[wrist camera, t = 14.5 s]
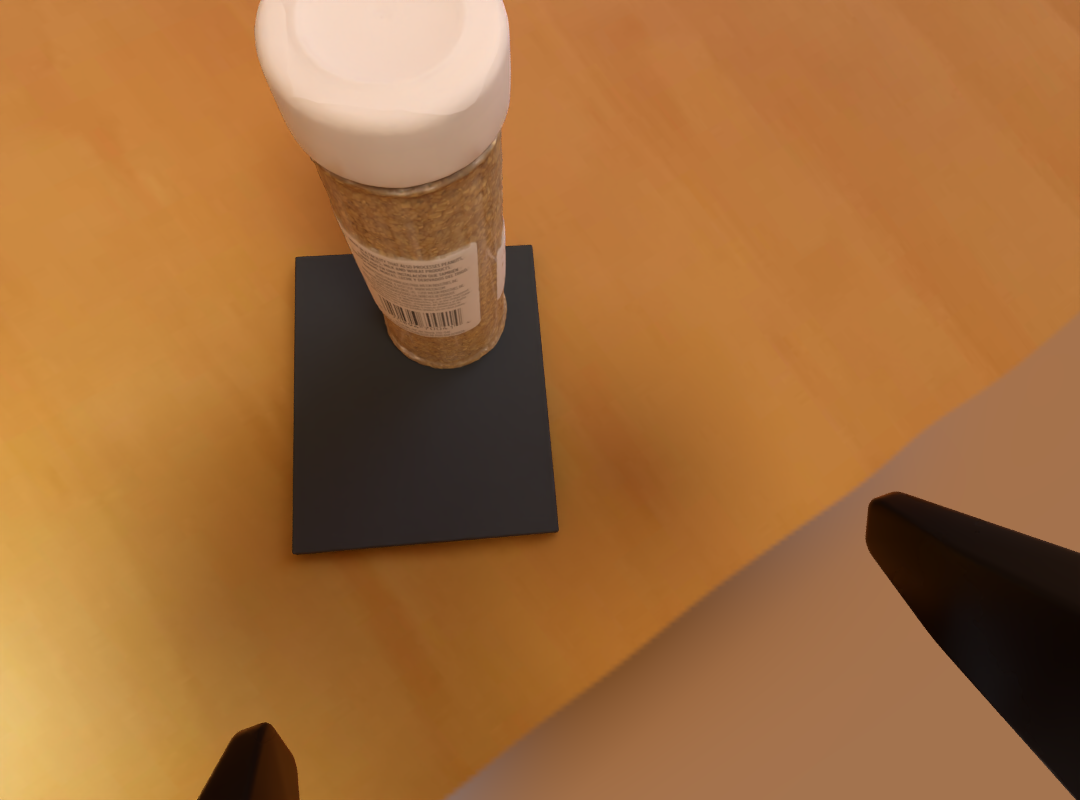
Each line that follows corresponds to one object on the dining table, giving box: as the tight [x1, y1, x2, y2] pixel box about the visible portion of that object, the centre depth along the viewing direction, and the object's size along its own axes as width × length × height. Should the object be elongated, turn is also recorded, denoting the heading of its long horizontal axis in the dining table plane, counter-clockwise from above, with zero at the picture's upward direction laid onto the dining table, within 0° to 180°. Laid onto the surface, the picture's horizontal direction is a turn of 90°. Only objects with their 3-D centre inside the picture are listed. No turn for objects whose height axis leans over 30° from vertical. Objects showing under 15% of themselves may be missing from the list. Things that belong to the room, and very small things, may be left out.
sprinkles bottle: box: [254, 0, 511, 369], centre depth 18 cm, size 5×5×13 cm
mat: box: [292, 245, 559, 555], centre depth 24 cm, size 11×9×1 cm
